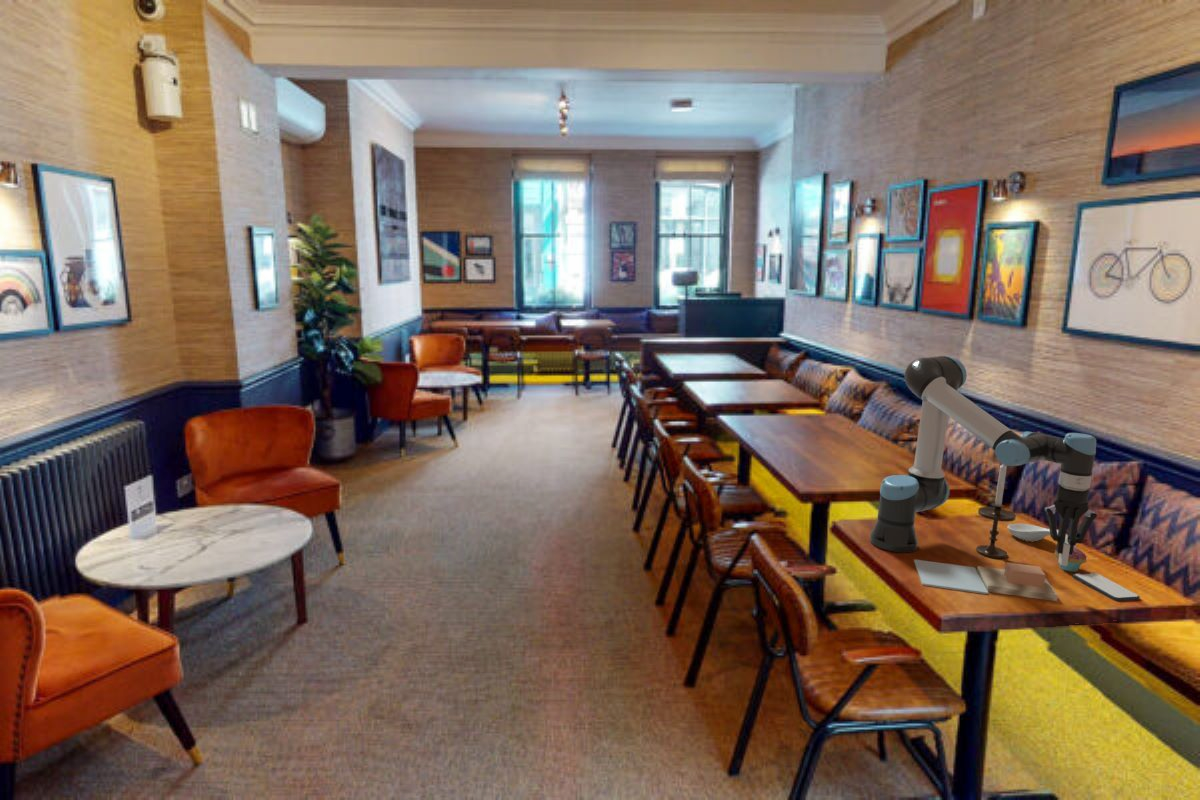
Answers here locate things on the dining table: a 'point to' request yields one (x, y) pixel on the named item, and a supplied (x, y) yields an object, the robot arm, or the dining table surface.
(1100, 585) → the phone case
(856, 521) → the dining table surface
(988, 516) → the candlestick
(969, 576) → the mat
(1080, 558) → the cupcake
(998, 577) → the beige flat rectangular piece
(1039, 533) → the spoon rest
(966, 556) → the dining table surface
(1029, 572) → the pink block
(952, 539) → the dining table surface
